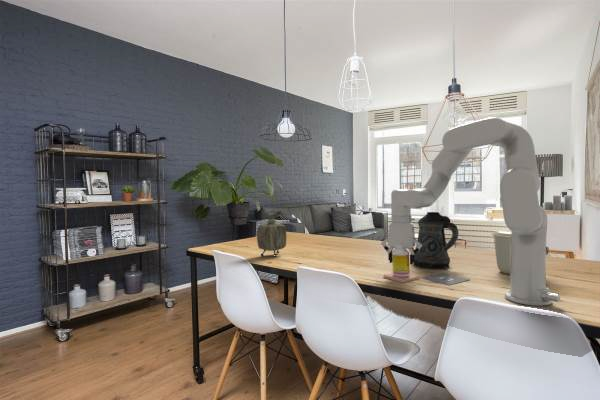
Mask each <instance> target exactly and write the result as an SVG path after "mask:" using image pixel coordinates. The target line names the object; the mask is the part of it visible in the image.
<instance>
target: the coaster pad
mask: <svg viewBox="0 0 600 400" xmlns="http://www.w3.org/2000/svg"><path fill="white" fill-rule="evenodd" d="M382 277H383V278H385V279H388V280H392V281H394V282H395V281H396V282H399V283H407V282H412V281H417V280H420V279H421V277H420V275H416V274H412V273H410V275H409V276H407V277H397V276H394V275H393V272H391V273H385V274H383V276H382Z"/></svg>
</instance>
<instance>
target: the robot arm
mask: <svg viewBox="0 0 600 400" xmlns="http://www.w3.org/2000/svg"><path fill="white" fill-rule="evenodd" d="M441 141H442V142H441V143H442V148H441V150H440V151H439V152H438V154H437V155H436V156H435V158H434V159H433V160H432V162H431V171H432V172H431V174H430V177H429V179H428V180H427V182H426V183H425V184H424V186H423V187H422V188H412V189H411V188H410V189H404V188H403V189H393V190H392V191H391V194H390V197H391V199H390V200H391V202H390V207H391V208H390V210H391V222H390V223H389V226H388V235H387V236H388V237H387V238H385V239H384V240H382V241H380V244H381V246H382V247H383V249H384V250H385V251H386V252H387V253H388V254H387V255H388V261H389V263H390V264H392V251H393V250H394V249H395V248H396V245H402V247H403V248H406V250H408V252H409V253H410V254H409V266H412V265H413V262H415V253H416V252H417V251H418V250H419V249H420V248H421V247H422V246H423V245H422V244H421V243H420V242H419V241H418V239H416V238H415V237H416V236H415V227H414V223H413V221H415V217H413V216H412V214H411V213H412V211H411V209H422V208H428V207H431V206H432V205H433V204H435V202H436V201H438V199H439V198H440V197H441V195H442V194H443V193H444V192H445V191H446V188H447V186H448V185H449V182H450V181H451V179H452V176H453V175H454V173H455V172H456V171H457V170H458V168H459V167H460V166H461V164H462V163H463V162H464V161H465V160H466V158H467V157H468V155H470V153H471V152H472V150H473V149H476V148H479V147H484V146H488V145H490V146H495V147H499V148H500V147H501V149H503V151H504V162H505V171H506V172H505V173H504V174H503V175H502V176H501V179H500V183H499V192H500V193H499V194H500V199H501V207H502V214H503V221H504V223H505V225H506V227H507V228H508V229H510V230H511V231H512V233H511V271H510V274H509V275H510V283H509V285H510V288H509V289H510V290H508V291H506V292H505V293H504V298H505V299H507V300H509V301H510V302H513V303H515V304H516V303H517V304H522V305H526V306H537V307H538V306H539V307H543V306H549V305H551V304H552V302H555V303H560V301H561V296H560V294H558V293H555V292H554V293H552V292H551V291H550V288H549V287H547V286H546V285H547V282H546V278H547V277H546V275H547V273H546V272H547V270H546V269H547V264H546V263H547V259H546V257H547V231H548V214H547V211H546V210H545V208H544V207H543V206H542V205H541V204H540V202H539V201H540V200H539V194H538V192H539V190H540V188H541V179H540V175H539V169H538V162H537V156H536V151H535V145H534V140H533V138H532V136H531V135H530V133H529V132H528V130H526V129H525V128H523V127H522V126H520V125H517V124H515V123H511V122H509V121H506V120H503V118H502V119H501V118H499V117H495V116H494V117H492V116H491V117H486V118H483V119H479V120H476V121H471V122H469V123H465V124H461V125H457V126H454V127H452V128H450V129H448V130H446V132H445V133H444V134H443V136H442V139H441ZM386 243H387V244H386ZM417 245H418V247H417V248H416V246H417ZM414 247H415V249H414Z"/></svg>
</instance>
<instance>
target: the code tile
mask: <svg viewBox="0 0 600 400" xmlns="http://www.w3.org/2000/svg"><path fill="white" fill-rule="evenodd" d="M420 279H424V280H427V281H432V282H436V283H440V284H443V285H447V286H451V285H457V284H460V283H464V282H467V281H470V280H471V279H470V278H465V277H461V276H457V275H452V274H447V273H443V272H441V273H435V274H432V275H427V276H422V277H420Z"/></svg>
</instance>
